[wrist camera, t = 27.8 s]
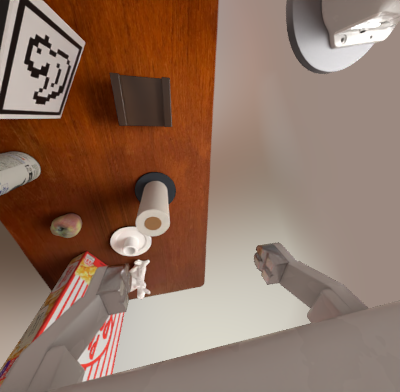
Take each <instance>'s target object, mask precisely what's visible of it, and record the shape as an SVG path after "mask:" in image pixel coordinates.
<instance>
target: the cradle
mask: <svg viewBox="0 0 400 392" xmlns="http://www.w3.org/2000/svg"><path fill="white" fill-rule="evenodd" d="M110 78H111V84H112V89H113V95H114V100H115V105H116V111H117V116H118V122H119V126H165V127H172V116H171V94H170V78H165V77H162V79H160V78H148V77H136V76H125V75H119V74H118V73H110Z"/></svg>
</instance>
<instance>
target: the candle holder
mask: <svg viewBox="0 0 400 392" xmlns="http://www.w3.org/2000/svg"><path fill="white" fill-rule="evenodd" d="M110 243H111V246H112V248H113V249H114V250H115V251H116V252H117V253H119V254H121V255H125V256H137V255H140V254H142V253H144V252H146V251H147V250H148V249H149V247H150V246H151V237H150V236H147V235H144V234H142V233H141V232H139V231H138V229H137V227H125V228H121V229H119V230H117V231H116V232H114V234H113V235H112V237H111V240H110Z"/></svg>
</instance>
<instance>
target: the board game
mask: <svg viewBox="0 0 400 392" xmlns="http://www.w3.org/2000/svg"><path fill="white" fill-rule="evenodd" d="M103 266H107V265H106V264H104V263H103V262H101V261H100V260H99V259H97V258H96V257H95V256H93V255H92V254H90V253H89V252H88V251H86V252H84V253H83V254H81V255H79V256H77V257H76V258H74V259H72V260H71V262H70V263H69V265H68V266H67V268H66V270H65V271H64V273H63V275H62V276H61V278H60V279H59V281H58V282H57V284H56V286H55V287H54V289H53V290H52V292H51V293H50V295H49V296H48V298H47V299H46V301H45V302H44V304H43V306H42V307H41V309H40V310H39V312H38V313H37V315H36V316H35V318H34V319H33V321H32V322H31V324H30V326H29V327H28V329H27V330H26V332H25V333H24V335H23V336H22V338H21V339H20V341H19V342H18V344H17V345H16V347H15V349H14V350H13V351H12V353H11V354H10V356H9V357H8V359H7V360H6V362H5V363H4V365H3V366H2V368H1V369H0V386H1V385H2V383H3V381H4V380H5V378H6V376H7V375H8V373H9V372H10V370H11V368H12V367H13V365H14V363H15V362H16V360H17V359H18V357H19V355H20V354H21V352H22V351H23V350H25V349H26V348H27V347H28V346H29V345H30V344H31V343H32V342H33V341H34V340H35V339H36V338H37V337H39V336H40V335H41V334H42V333H43V332H44V331H45V330H46V329H47V328H48V327H49V326H50V325H51V324H52V323H54V322H55V321H56V320H57V319H58V318H59V317H60V316H61V315H62V314H63V313H64V312H65V311H66V310H68V309H69V308H70V307H71V306H72V305H73V304H74V303H75V302H76V301H77V300H78V299H79V298H81V297H84V295H85V293H86V291H87V288H88V286H89V284H90V282H91V280H92V278H93V275H94V273H95V271H96V269H97V268H98V267H103ZM123 317H124V312H122V313H118V314H113V315H109V317H108V318H107V320H106V321H105V323H104V324H103V325H102V327H101V328H100V330H99V331H98V332H97V334H96V335H95V337H94V338H93V339H92V341H91V342H90V343H89V345H88V346H87V348H86V349H85V350H84V352H83V353H82V355H81V356H80V357H79V359H78V360H77V361H78V362H79V363H80V364H81V366H82V367H83V368H84V370H85V374H84V377H83V381H82V382H84V381H88V380H92V379H96V378H99V377H103V376H107V375H111V374H112V372H113V367H114V362H115V357H116V352H117V347H118V341H119V337H120V332H121V327H122V322H123Z"/></svg>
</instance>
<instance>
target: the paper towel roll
mask: <svg viewBox="0 0 400 392" xmlns="http://www.w3.org/2000/svg"><path fill="white" fill-rule="evenodd" d="M169 225H170V218H169V204H168V191H167V187H166V186H165V184H163V183H162V182H160V181H151V182H149V183H147V184H146V186H145V187H144V191H143V195H142V199H141V202H140V206H139V210H138V214H137V218H136V227H137V229H138V231H139V232H141V233H142V234H144V235H147V236H158V235H161V234H163V233H164V232H165V231H166V230H167V229H168V227H169Z"/></svg>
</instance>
